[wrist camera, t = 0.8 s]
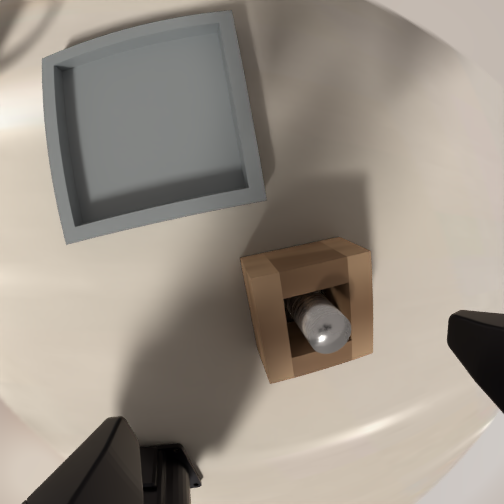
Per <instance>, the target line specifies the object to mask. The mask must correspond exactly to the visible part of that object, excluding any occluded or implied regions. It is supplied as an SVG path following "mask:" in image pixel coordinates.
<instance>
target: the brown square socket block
mask: <svg viewBox="0 0 504 504" xmlns="http://www.w3.org/2000/svg"><path fill="white" fill-rule="evenodd" d="M240 261H241V266H242V271H243V277H244V282H245V287H246V292H247V297H248V303H249V308H250V313H251V318H252V323H253V328H254V333H255V338H256V344H257V349H258V351H259V354H260V357H261V360H262V363H263V365H264V368H265V371H266V374H267V377H268V379H269V382H270V384H272V383H276V382H280V381H284V380H287V379H291V378H295V377H298V376H302V375H306V374H309V373H312V372H316V371H319V370H323V369H326V368H329V367H332V366H335V365H339V364H342V363H345V362H348V361H351V360H354V359H357V358H360V357H363V356H365V355H368V354H371V353H373V290H372V266H371V251H369V250H367V249H365V248H363V247H361V246H359V245H356V244H354V243H352V242H350V241H348V240H345V239H343V238H341V237H336V238H331V239H326V240H322V241H317V242H312V243H307V244H303V245H298V246H293V247H289V248H284V249H279V250H274V251H270V252H265V253H260V254H255V255H251V256H246V257H241V258H240ZM322 289H324V291H325V297H326V298H327V299H328V300H329V301H330V302H331V303H332V304H333V305H334V306H335V307H336V308H337V309H338V310H339V311H340V312H341V313H342V314H343V315H344V316H345V317H346V318H347V319H348V320H349V322H350V324H351V334H350V337H349V339H348V341H347V343H346V344H345V345H344V346H343V347H342V348H341V349H339V350H338V351H336V352H333V353H329V354H322V353H319V352H317V351H315V350H314V349H313V348H312V346H311V345H310V343H309V342H308V340H307V339H306V337H305V336H304V334H303V333H302V331H301V330H300V328H299V327H298V325H297V324H296V322H295V321H294V322H290V323H287V322H286V315H285V308H284V301H283V299H285V298H289V297H294V296H298V295H302V294H306V293H310V292H314V291H318V290H322Z"/></svg>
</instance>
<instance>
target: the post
mask: <svg viewBox="0 0 504 504" xmlns="http://www.w3.org/2000/svg"><path fill="white" fill-rule="evenodd" d="M283 301H284V306H285V307H286V309H287V310H288V312H289V313H290V315H291V316H292V318H293V319H294V321H295V322H296V324H297V325H298V327H299V328H300V330H301V331H302V333H303V334H304V336H305V337H306V339H307V340H308V342H309V343H310V345H311V346H312V348H313V349H314V350H315V351H317V352H319V353H322V354H329V353H333V352H336V351H338V350H339V349H341V348H342V347H343V346H344V345H345V344H346V343H347V341H348V339H349V337H350V334H351V324H350V322H349V320H348V319H347V318H346V317H345V316H344V315H343V314H342V313H341V312H340V311H339V310H338V309H337V308H336V307H335V306H334V305H333V304H332V303H331V302H330V301H329V300H328V299H327V298H326V297H325V296H324V295H323V294H322V293H321V292H319V291H314V292H310V293H306V294H302V295H298V296H294V297H289V298H285V299H283Z"/></svg>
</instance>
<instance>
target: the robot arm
mask: <svg viewBox="0 0 504 504" xmlns="http://www.w3.org/2000/svg"><path fill="white" fill-rule="evenodd" d="M447 343H448V346H449V347H450V349H451V350H452V351H453V353H454V354H455V355H456V357H457V358H458V359H459V361H460V362H461V363H462V365H463V366H464V367H465V369H466V370H467V371H468V373H469V374H470V375H471V377H472V378H473V379H474V381H475V382H476V383H477V384H478V385H479V386H480V387H481V389H482V390H483V391H484V392H485V393H486V394H487V395H488V396H489V397H490V399H491V400H492V401H493V402H494V403H495V404H496V405H497V407H498V408H499V409H500V410H501V411H502V412H503V413H504V314H499V313H488V312H478V311H468V310H459V311H457V312H455V313H454V314H452V315H451V316H450V317H449V321H448V333H447ZM200 486H201V480H200V478H199V476H198V474H197V473H196V471H195V469H194V467H193V465H192V463H191V462H190V460H189V458H188V456H187V454H186V452H185V450H184V448H183V446H182V445H180V444H168V445H159V446H148V447H139V442H138V439H137V437H136V435H135V434H134V432H133V431H132V429H131V427H130V426H129V424H128V422H127V421H126V419H125V418H124V417H122V416H117V417H109V418H107V419H106V420H105V421H104V422H103V423H102V424H101V425H100V426H99V427H98V428H97V429H96V430H95V431H94V432H93V433H92V434H91V435H90V436H89V437H88V438H87V439H86V440H85V441H84V442H83V443H82V444H81V445H80V446H79V447H78V448H77V449H76V450H75V451H74V452H73V453H72V454H71V455H70V456H69V457H68V458H67V459H66V460H65V461H64V462H63V463H62V464H61V465H60V466H59V467H58V468H57V469H56V470H55V471H54V472H53V473H52V474H51V475H50V476H49V477H48V478H47V479H46V480H45V481H44V482H43V483H42V484H41V485H40V486H39V487H38V488H37V489H36V490H35V491H34V492H33V493H32V494H31V495H30V496H29V497H28V498H27V500H25V501H24V502H23V503H22V504H191V497H190V488H196V487H200Z"/></svg>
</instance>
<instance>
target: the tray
mask: <svg viewBox="0 0 504 504" xmlns="http://www.w3.org/2000/svg"><path fill="white" fill-rule="evenodd" d="M42 89H43V107H44V120H45V131H46V140H47V148H48V156H49V163H50V169H51V175H52V181H53V187H54V192H55V197H56V202H57V207H58V212H59V216H60V221H61V225H62V229H63V234H64V238H65V241H66V245H67V244H71V243H75V242H79V241H83V240H87V239H91V238H95V237H99V236H103V235H107V234H111V233H115V232H119V231H123V230H128V229H132V228H136V227H140V226H145V225H149V224H154V223H158V222H163V221H167V220H172V219H176V218H181V217H186V216H190V215H195V214H200V213H205V212H210V211H215V210H220V209H225V208H230V207H235V206H240V205H245V204H250V203H256V202H261V201H267V198H266V192H265V186H264V181H263V175H262V169H261V163H260V157H259V152H258V146H257V140H256V135H255V129H254V124H253V118H252V113H251V107H250V102H249V96H248V91H247V86H246V80H245V75H244V70H243V65H242V60H241V54H240V49H239V44H238V39H237V34H236V29H235V24H234V19H233V14H232V10H228V11H219V12H210V13H202V14H195V15H189V16H183V17H177V18H172V19H167V20H162V21H157V22H152V23H148V24H144V25H140V26H136V27H132V28H128V29H124V30H121V31H117V32H114V33H110V34H107V35H104V36H101V37H97V38H94V39H91V40H88V41H86V42H83V43H80V44H77V45H75V46H72V47H69V48H67V49H64V50H62V51H59V52H57V53H54V54H52V55H50V56H47V57H45V58H43V59H42Z"/></svg>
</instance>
